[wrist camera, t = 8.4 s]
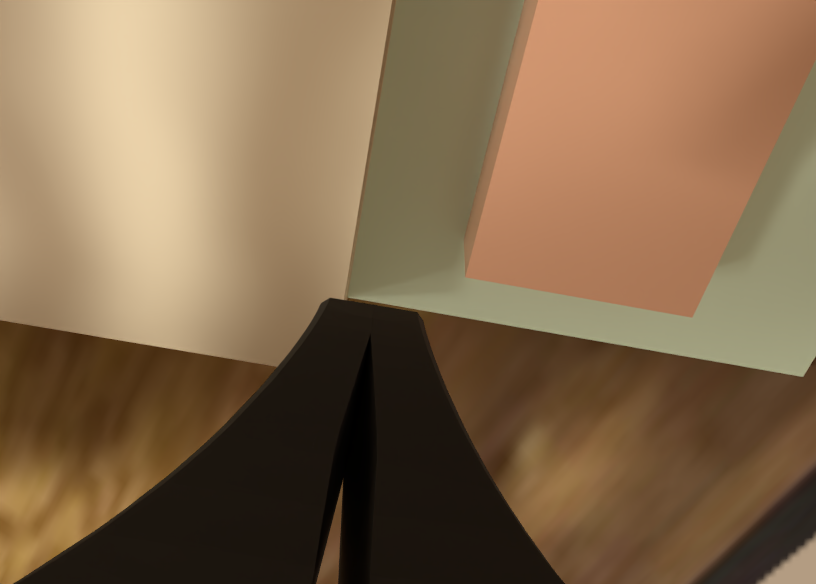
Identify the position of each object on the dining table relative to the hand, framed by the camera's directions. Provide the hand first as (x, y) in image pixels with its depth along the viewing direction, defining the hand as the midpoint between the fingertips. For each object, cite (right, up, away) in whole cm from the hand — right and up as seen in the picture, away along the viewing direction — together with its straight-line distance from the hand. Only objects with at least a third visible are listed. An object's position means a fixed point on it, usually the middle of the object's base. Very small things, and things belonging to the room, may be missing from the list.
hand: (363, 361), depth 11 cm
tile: (+6, +5, +6) cm, 10 cm away
